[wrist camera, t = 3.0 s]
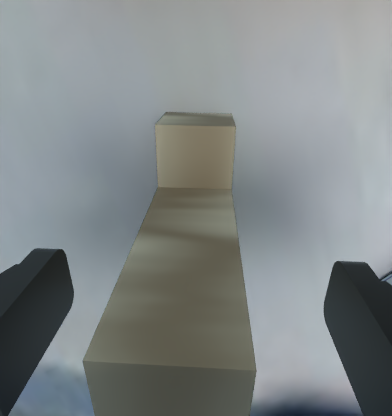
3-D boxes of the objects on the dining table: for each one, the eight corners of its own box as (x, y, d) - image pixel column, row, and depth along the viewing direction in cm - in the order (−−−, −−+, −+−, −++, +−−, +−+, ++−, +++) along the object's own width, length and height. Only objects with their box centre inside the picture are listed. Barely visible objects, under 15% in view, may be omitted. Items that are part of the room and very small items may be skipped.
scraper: (170, 256, 18) (115, 508, 8) (166, 112, 14) (54, 237, 4) (222, 258, 17) (234, 516, 8) (231, 113, 14) (275, 246, 4)
